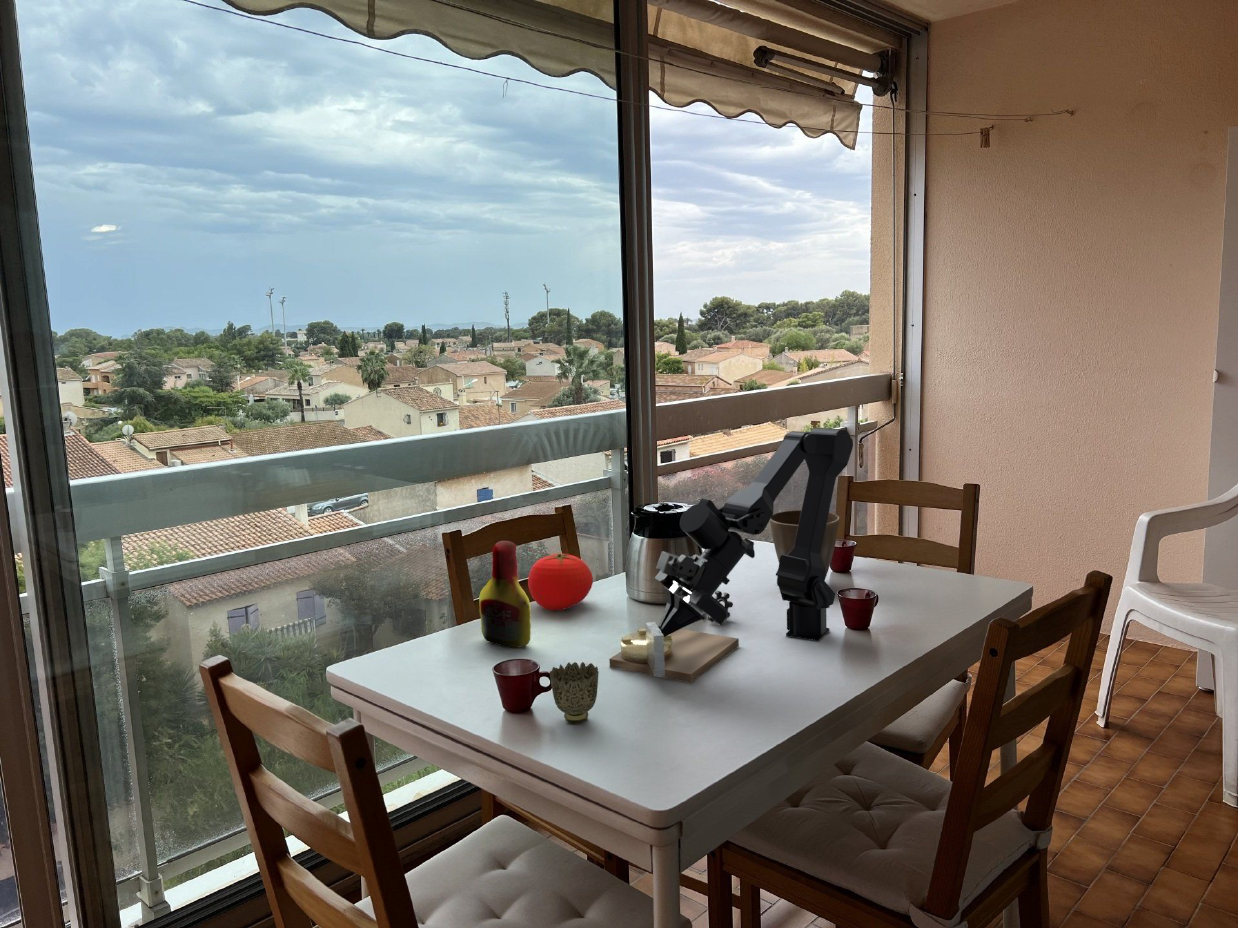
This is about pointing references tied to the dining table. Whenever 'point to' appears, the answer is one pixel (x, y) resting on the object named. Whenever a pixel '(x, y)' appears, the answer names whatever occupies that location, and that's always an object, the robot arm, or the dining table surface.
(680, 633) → the walnut base
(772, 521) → the plant pot
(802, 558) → the robot arm
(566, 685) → the cup
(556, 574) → the tomato
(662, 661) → the ring nut spanner
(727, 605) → the valve
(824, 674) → the dining table surface
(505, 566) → the bottle
